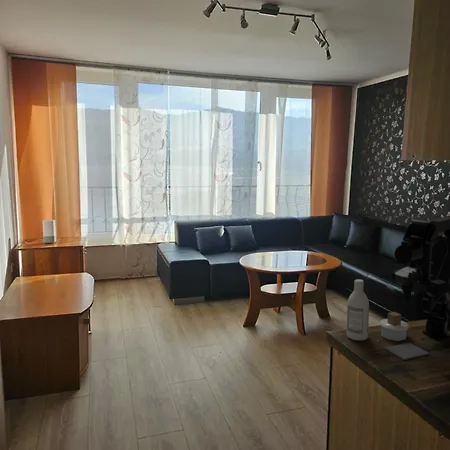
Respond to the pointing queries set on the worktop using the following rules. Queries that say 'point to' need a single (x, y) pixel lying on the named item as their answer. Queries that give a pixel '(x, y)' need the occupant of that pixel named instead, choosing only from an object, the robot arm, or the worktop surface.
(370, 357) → the worktop surface
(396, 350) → the mat
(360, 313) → the bath foam
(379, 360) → the worktop surface
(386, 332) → the bowl
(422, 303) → the robot arm
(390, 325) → the lid
